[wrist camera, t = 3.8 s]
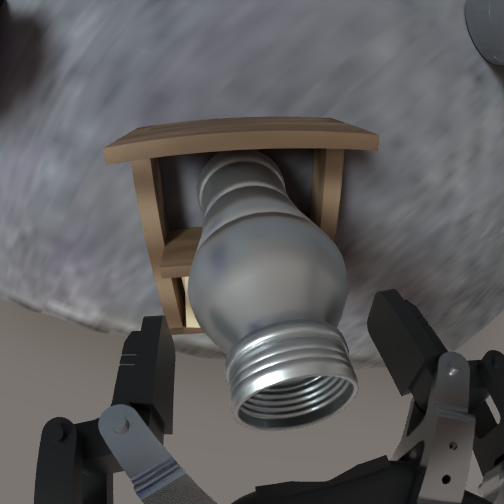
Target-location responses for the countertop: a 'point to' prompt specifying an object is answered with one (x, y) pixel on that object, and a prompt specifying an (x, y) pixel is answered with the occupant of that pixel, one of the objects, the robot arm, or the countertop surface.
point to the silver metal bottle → (269, 297)
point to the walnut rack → (224, 139)
